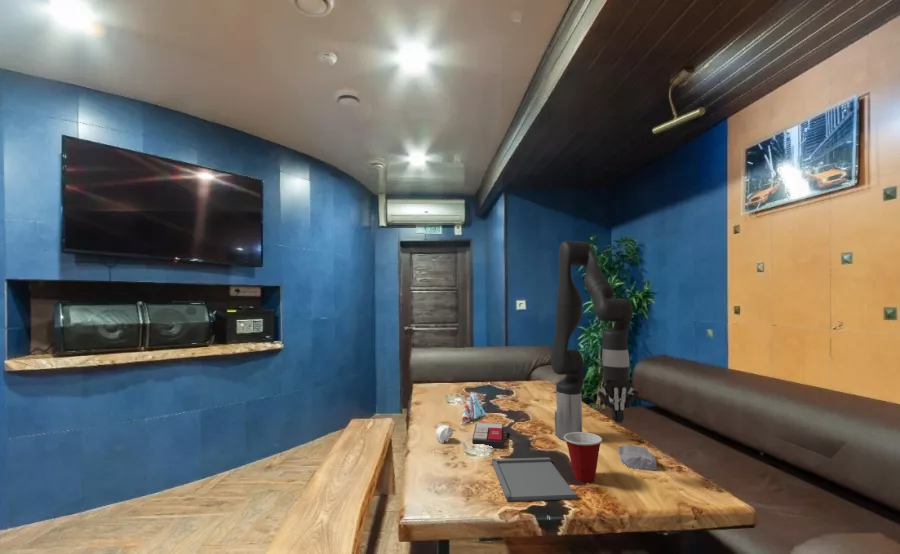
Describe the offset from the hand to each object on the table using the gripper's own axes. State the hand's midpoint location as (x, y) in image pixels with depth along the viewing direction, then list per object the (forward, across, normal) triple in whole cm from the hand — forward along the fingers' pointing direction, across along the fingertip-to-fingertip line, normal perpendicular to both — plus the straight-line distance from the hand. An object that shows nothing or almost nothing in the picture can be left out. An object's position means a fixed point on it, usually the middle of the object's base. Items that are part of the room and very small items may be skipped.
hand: (618, 421), depth 107 cm
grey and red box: (+16, +34, -30) cm, 49 cm away
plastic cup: (+16, +11, 0) cm, 20 cm away
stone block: (+16, -10, -9) cm, 21 cm away
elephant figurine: (+16, +51, -30) cm, 62 cm away
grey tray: (+16, +27, 0) cm, 31 cm away
